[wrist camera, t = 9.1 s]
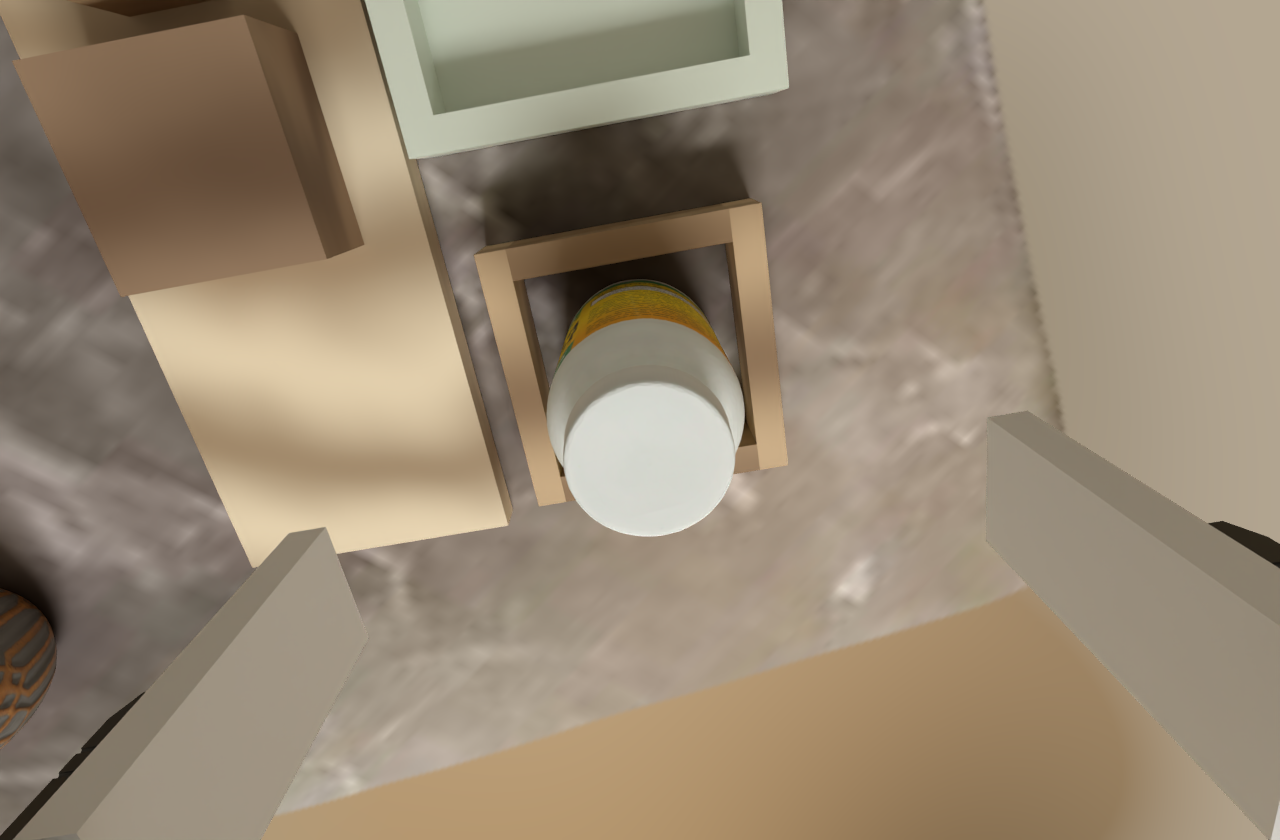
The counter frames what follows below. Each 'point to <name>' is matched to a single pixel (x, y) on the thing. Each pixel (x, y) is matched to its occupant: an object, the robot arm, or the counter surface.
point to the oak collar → (625, 242)
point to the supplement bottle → (645, 410)
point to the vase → (23, 662)
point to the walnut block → (195, 152)
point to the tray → (567, 64)
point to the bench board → (319, 319)
